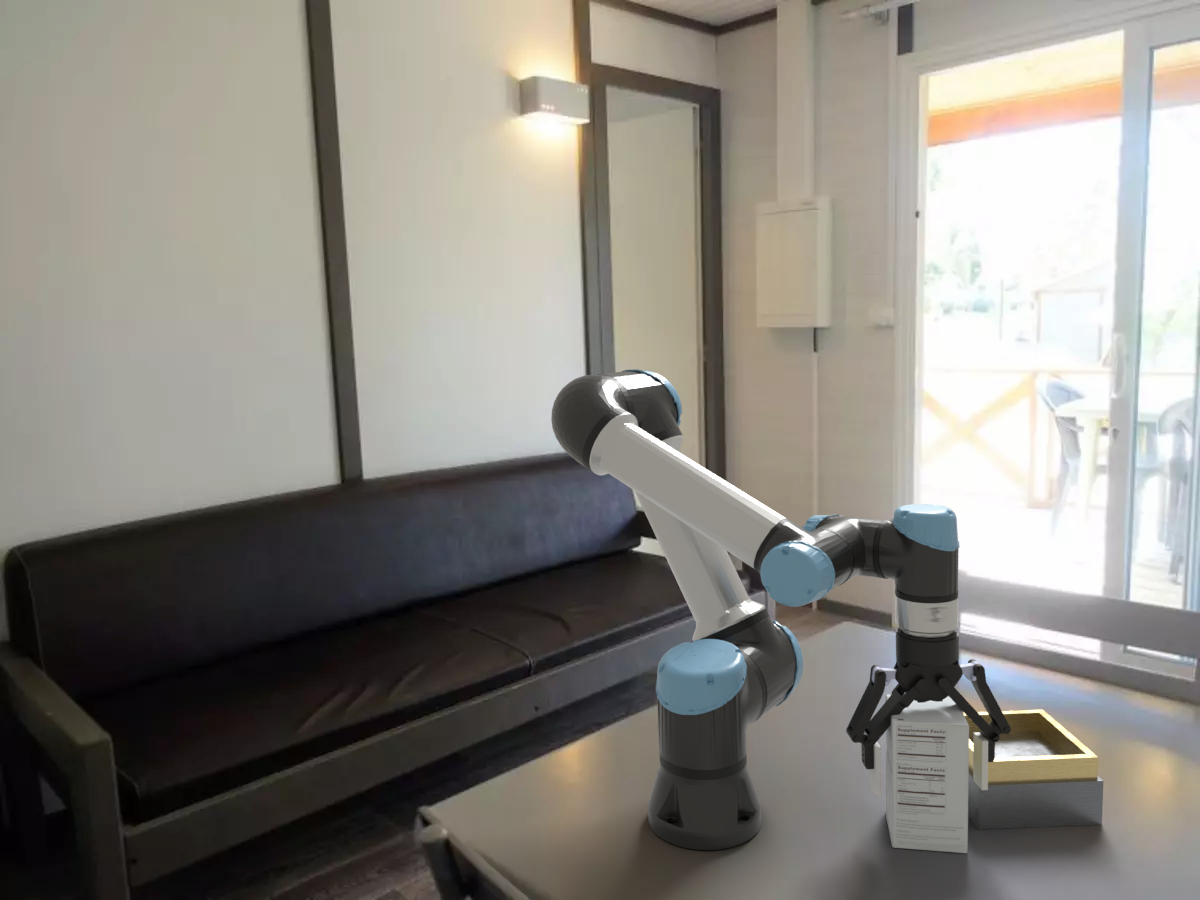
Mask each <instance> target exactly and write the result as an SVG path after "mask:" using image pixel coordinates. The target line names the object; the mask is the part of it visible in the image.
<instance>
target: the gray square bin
mask: <svg viewBox="0 0 1200 900" xmlns="http://www.w3.org/2000/svg"><path fill="white" fill-rule="evenodd" d="M1001 711H1002V713H1003V715H1004V716H1005V718H1006V720H1007V722H1008V724H1009V726H1010V728H1011V731H1010V733H1008V734H1000V735H999V736H1000V738H999V740H998V741H997V742H995V759H994V761H993V762H988V790H981V789H980V787H979V786H978V785H977V784H976V783H975V782H974V781H973V732H979V733H980V734H981V730H980V729H979V728H978V727H977V726H976V725H975V724H974V723H973V722H972V721H971V720H970V718H969V717H968V716H967V715H966V714H965V713H964V712H963V714H964V716H965V718H966V720H967V723H968V725H969V770H968V818H969V819H970V820H971V822H972V823H973V824H974V825H975V827H976V828H977V829H978V830H996V829H997V830H999V829H1001V830H1003V829H1021V828H1022V829H1024V828H1025V829H1026V828H1027V829H1028V828H1048V827H1052V828H1053V827H1069V826H1071V827H1072V826H1073V827H1075V826H1093V825H1095V826H1096V825H1097V826H1098V825H1103V804H1104V803H1103V801H1104V780H1103V779H1102V778H1101V777H1100V776H1098V775H1099V774H1098V773H1099V769H1098V768H1099V757H1098V755H1096V754H1095V753H1094V752H1093V751H1091V750H1090V749H1089V747H1087V746H1086V745H1085V744H1084V743H1082V742H1081V741H1080V740H1079V739H1078V738H1077V737H1075V736H1074V735H1073V734H1072V733H1071V732H1070V731H1069V730H1067V729H1066V728H1065V727H1064V726H1062V724H1061V723H1059V722H1058V721H1057V720H1055V718H1053V717H1052V715H1050V714H1048V712H1046V711H1045V710H1044V709H1023V710H1022V709H1020V710H1001ZM977 712H978V713H979V715H980V716H981V717H982V718H983V719H984V720H985V721H986V722H987V723H990V722H992V720H991V718H990V716H989V714H988V713H987V711H977Z"/></svg>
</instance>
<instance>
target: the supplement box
mask: <svg viewBox="0 0 1200 900" xmlns="http://www.w3.org/2000/svg"><path fill="white" fill-rule="evenodd" d="M891 694H892V693H891ZM891 694H888V693H887V694H885V702H886V701H887V700H888V698H889V697H890V696H891ZM963 713H964V712H963V711H962V709H961V708H960V707H959V706H957V705H956V703H955V702H954V701H953V700H952V699H951V698H950V697H949V696H947V697H946V698H945V699H943V701H940V702H936V701H927V702H922V703H918V702H917V701H915V700H914V701H913V702H912V703H911V704H910V705H909V706H908V707H906V708H904V709H903V711H902V712H901V713H900V714H899V715H893V716H891V725H890V726H889V728H888V729H887V730H886V731H885V738H886V739H885V740H886V741H885V746H886V749H885V751H886V752H885V753H886V754H885V817H886V818H885V819H886V823H887V826H888V833H889V838H890V843H891V844H890V845H891V847H892V848H894V849H895V848H896V849H905V850H906V849H907V850H920V851H921V850H922V851H932V852H933V851H934V852H945V853H958V854H968V848H969V847H968V846H969V845H968V843H969V842H968V841H969V835H968V834H969V816H968V770H969V725H968V723H967V720H966V718H965V716H964V714H963Z"/></svg>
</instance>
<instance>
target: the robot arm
mask: <svg viewBox="0 0 1200 900" xmlns="http://www.w3.org/2000/svg"><path fill="white" fill-rule="evenodd" d="M682 407H683V406H682V402H681V398H680V395H679V393H678V392H677V389H676V388H675V387H674V385H673V384H672V383H671V382H670V381H669V380H668V379H667V378H666V377H664V376H663V375H661V374H660V373H657V372H655V371H651V370H646V369H645V370H644V369H643V370H641V369H637V368H636V369H635V368H634V369H624V370H622V371H617V372H616V371H615V372H614V371H613V372H608V373H599V374H587V375H583V376H579V377H577V378H575V379H573V380H571V381H569V382H568V383H567V384H566V385H564V387H562V388H561V390H560V391H559V392H558V393H557V396H556V397H555V399H554V402H553V405H552V409H551V417H550V418H551V420H550V421H551V425H552V426H551V427H552V430H553V433H554V436H555V439H556V440H557V442H558V443H559V445H560V447H561V448H562V449H563V451H564V452H566V453H567V454H568V455H569V456H570V457H571V458H572V459H573V460H575V461H576V462H577V463H579V464H580V465H581V466H583V467H584V468H586V469H588V470H589V471H591V472H592V473H593V474H595V475H596V476H606V475H610V476H611V477H613V478H614V479H616V480H618V481H619V482H621V483H622V484H624V485H625V486H627V487H628V488H630V489H631V490H633V491H634V492H635V495H636V497H637V500H638V501H639V503H640V505H641V508H642V510H643V512H644V514H645V516H646V518H647V520H648V523H649V525H650V526H651V527H650V528H651V529H652V531H653V534H654V536H655V538H656V540H657V541H658V544H659V546H660V549H661V550H662V552H663V554H664V557H665V559H666V560H667V563H668V565H669V567H670V570H671V571H672V574H673V576H674V578H675V581H676V583H677V584H678V586H679V589H680V591H681V593H682V596H683V598H684V600H685V601H686V604H687V605H688V609H689V611H690V613H691V615H692V617H693V619H694V621H695V625H696V626H695V629H694V632H693V635H692V638H691V639H692V642H689V641H685V642H681V643H679V644H677V645H675V646H673V647H671V648H670V649H668V650H667V651H666V652H665V653H664V654H663V655H662V656H661V658H660V660H659V662H658V664H657V665H658V666H657V670H656V671H657V674H656V675H657V677H656V682H655V693H656V698H657V723H658V724H657V725H658V726H657V728H658V750H659V751H658V752H659V753H658V754H659V765H658V766H659V767H658V769H657V772H656V775H655V776H656V777H655V779H654V782H653V786H652V788H651V792H650V795H649V798H648V803H647V804H648V805H647V811H648V812H647V814H648V815H647V816H648V819H647V821H648V824H649V827H650V828H651V831H653V833H654V834H655V835H656V836H657V837H659V838H660V839H661V840H663V841H665V842H667V843H669V844H672V845H673V846H677V847H681V848H685V849H689V850H696V851H715V850H716V851H718V850H725V849H730V848H734V847H736V846H739V845H742V844H745V843H746V842H748V841H749V840H750V839H752V838H754V837H755V836H756V835H757V833H758V832H759V831H760V830H761V826H762V806H761V800H760V799H759V796H758V795H759V794H758V793H757V790H756V787H755V785H754V781H753V779H752V776H751V772H750V771H749V768H748V755H747V752H748V751H747V748H748V747H747V742H748V741H747V729H748V727H750V726H751V725H752V724H754V723H755V722H756V721H758V720H759V719H760V718H762V717H763V716H765V714H767V713H768V712H770V711H771V710H772V709H774V708H776V707H779V706H780V705H782V704H783V703H784V702H785V701H786V700H787V699H788V698H789V697H790V695H791V694H792V693H794V691H795V690H796V688H798V685H799V683H800V682H801V679H802V676H803V672H804V656H803V652H802V651H803V650H802V648H801V645H800V643H799V641H798V638H796V636H795V634H794V633H793V632H792V630H790V629H789V628H788V627H787V626H786V625H782V624H780V622H779V621H777V620H774V619H772V617H771V616H770V614H769V612H768V609H767V608H766V605H765V604H762V603H759V602H757V601H754V600H752V599H751V598H750V596H749V594H748V592H747V591H746V588H745V585H744V584H743V582H742V580H741V578H740V576H739V574H738V571H737V569H736V567H735V565H734V563H733V561H732V558H731V557H730V555H729V554H731V555H732V556H734V557H735V558H737V559H738V560H740V561H742V562H743V563H744V564H745V565H747V566H749V567H750V568H753V570H755V571H756V572H758V574H759V575H760V581H761V583H762V586H763V587H764V588H765V591H766V592H767V593H768V596H769V597H770V598H771V599H772V600H774V601H775V602H777V603H779V604H781V605H783V606H786V607H791V608H794V607H796V608H797V607H802V606H805V605H809V604H810V603H814V602H817V601H819V600H821V599H822V598H824V597H826V596H827V594H828V593H830V592H831V591H833V590H834V589H836V588H837V587H839V586H841V585H843V584H845V583H847V582H849V581H850V580H852V579H854V578H855V577H858V576H859V577H870V578H877V579H885V580H886V579H887V580H888V579H891V580H893V582H894V597H895V598H894V600H895V601H894V602H895V603H894V605H895V609H894V613H895V614H894V615H895V618H894V619H895V620H894V623H895V625H896V626H898V627H897V628H896V629H895V661H896V662H895V665H894V667H893V668H891V667H890V668H887V667H881V666H880V665H878V664H873V665H872V666H871V667H870V673H869V674H870V675H869V681H868V684H867V686H866V688H865V690H864V692H863V693H862V696H861V698H860V700H859V701H858V705H857V707H856V708H855V711H854V713H853V714H852V716H851V719H850V721H849V723H848V724H847V727H846V731H845V732H846V734H847V735H848V737H849V738H850V740H851V742H853V743H855V744H857V743H860V744H861V747H860V749H861V762H862V764H863V766H864V768H865V769H866V770H868V771H869V772H868V773H869V774H868V775H869V788H870V789H871V790H872V792H873V793H874V796H875V797H883V785H882V784H883V781H882V780H883V779H882V776H883V775H882V774H883V773H882V771H883V770H882V767H883V766H882V747H881V745H880V744H879V743H878V741H879V740H880V739H881V737H882V736H883V735H884V734H885V733H886V730H887V729H888V728H889V726H890V725H891V716H893V715H899V714H900V713H901V712H902V711H903V709H904V708H906V707H908V706H909V705H910V704H911V703H912V702H913V701H914V700H915V701H917V702H918V703H922V702H927V701H936V702H940V701H943V699H945V698H946V697H947V696H948V697H950V698H951V699H952V700H953V701H954V702H955V703H956V705H957V706H959V707H960V708H961V709H962V711H963V713H965V714H966V715H967V716H968V717H969V718H970V720H971V721H972V722H973V723H974V724H975V725H976V726H977V727H978V728H979V729H980V730H981V734H980V733H979V732H973V781H974V782H975V783H976V784H977V785H978V786H979V787H980V789H981V790H988V762H993V761H994V759H995V742H997V741H998V740H999V738H1000V736H999V735H1000V734H1008V733H1010V731H1011V728H1010V726H1009V724H1008V722H1007V720H1006V718H1005V716H1004V715H1003V713H1002V711H1003V710H1002V709H1001V707H1000V705H999V703H998V701H997V700H996V698H995V696H994V694H993V692H992V690H991V688H990V686H989V684H988V683H987V677H986V669H985V667H984V666H983V665H982V664H981V663H979V662H978V661H977V660H976V659H974V658H971V659H969V660H968V662H967V663H962V664H960V663H959V658H960V635H959V631H957V630H956V629H958V628H959V626H960V625H959V623H960V622H959V621H960V620H959V617H960V616H959V548H960V540H959V537H958V535H959V534H958V521H957V515H956V513H955V512H954V511H953V509H952V508H949V507H947V506H944V505H940V504H932V503H931V504H930V503H924V504H923V503H922V504H920V503H919V504H917V503H910V504H904V505H900V506H899V507H897V508H896V509H895V510H894V512H893V517H892V519H878V518H870V517H869V518H868V517H867V518H866V517H856V516H848V515H847V516H845V515H840V514H834V513H832V514H830V515H829V514H828V515H824V514H822V515H821V514H815V515H812V516H810V517H809V518H807V520H806V521H805V525H804V524H803V527H801V526H800V525H799V524H796V523H795V522H793V521H792V520H790V519H788V518H787V517H785V516H783V515H782V514H781V513H779V512H777V511H775V510H774V509H772V508H771V507H769V506H767V505H766V504H764V503H762V502H761V501H759V500H758V499H756V498H754V497H753V496H751V495H750V494H748V493H746V492H745V491H743V490H742V489H740V488H738V487H737V486H735V485H733V484H731V482H728V481H727V480H725V478H722V477H721V476H719V475H717V474H716V473H714V472H712V471H711V470H709V469H707V468H706V467H704V466H702V465H701V464H699V463H697V462H696V461H695V460H693V459H691V458H689V457H688V456H686V455H685V454H683V453H681V448H682V444H683V443H684V440H685V439H684V435H683V432H682V430H681V429H680V425H681V422H682V419H681V415H682V413H683V408H682ZM963 675H964V677H965V678H966V680H968V681H969V682H971V685H972V686H973V688H974V690H975V692H976V694H977V696H978V698H979V699H980V702H981V703H982V705H983V708H984V709H985V712H987V713H988V714H989V716H990V718H991V720H992V722H990V723H987V722H986V721H985V720H984V719H983V718H982V717H981V716H980V715H979V713H978V712H979V711H977V710H976V709H975V707H974V706H972V704H971V703H969V701H967V699H966V698H965V697H964V696H963V695H962V694H961V693H960V692H959V691H958V689H956V685H957V684H958V683H959V681H960V680H961V678H962V677H963ZM892 680H895V681H896V682H897V684H896V686H895V687H894V688H893V690H892V691H891V696H890V697H889V698H888V700H887V701H886V700H885V701H884V703H883V705H882V706H881V707H880V708H879V709H878V711H876V709H877V707H878V704H879V703H880V701H881V699H882V697H883V695H884V692H885V689H886V687H888V686H890V683H891V681H892ZM875 711H876V713H875ZM873 715H874V716H873Z"/></svg>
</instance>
